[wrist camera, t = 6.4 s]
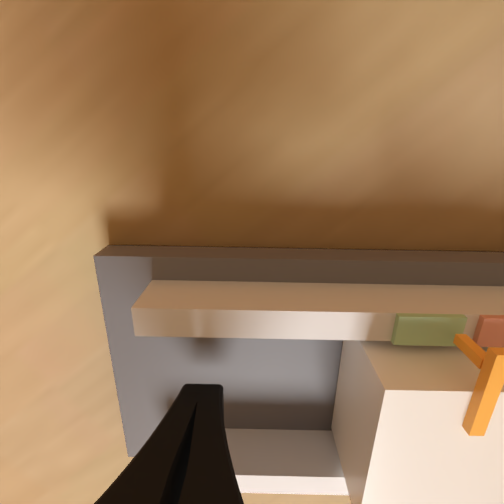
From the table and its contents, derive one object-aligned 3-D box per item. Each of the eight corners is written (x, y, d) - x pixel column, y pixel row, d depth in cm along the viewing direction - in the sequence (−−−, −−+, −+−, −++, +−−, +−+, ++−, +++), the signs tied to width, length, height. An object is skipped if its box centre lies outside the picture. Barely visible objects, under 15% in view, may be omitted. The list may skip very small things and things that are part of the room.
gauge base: (675, 254, 12) (973, 334, 7) (577, 442, 15) (730, 585, 10) (108, 245, 12) (6, 316, 7) (137, 433, 15) (82, 570, 10)
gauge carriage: (570, 286, 11) (730, 359, 7) (510, 431, 13) (608, 542, 10) (351, 282, 11) (399, 353, 7) (331, 427, 13) (360, 536, 10)
